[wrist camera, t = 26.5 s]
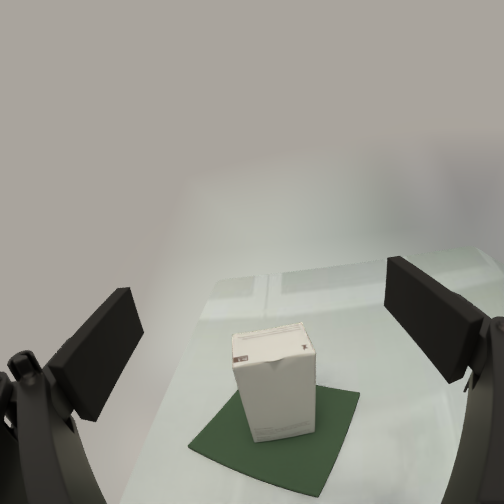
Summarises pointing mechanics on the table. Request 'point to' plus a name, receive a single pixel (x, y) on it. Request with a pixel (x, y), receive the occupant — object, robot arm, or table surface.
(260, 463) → the mat
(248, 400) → the cosmetic box
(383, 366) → the table surface
